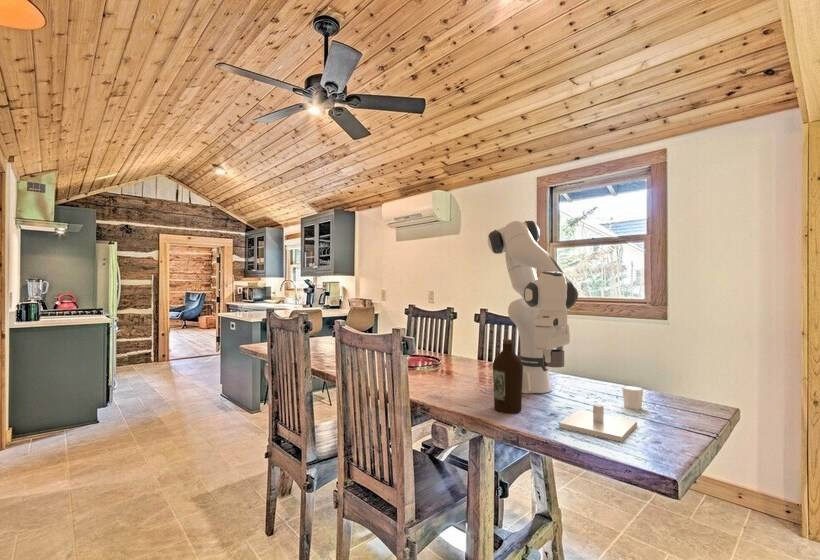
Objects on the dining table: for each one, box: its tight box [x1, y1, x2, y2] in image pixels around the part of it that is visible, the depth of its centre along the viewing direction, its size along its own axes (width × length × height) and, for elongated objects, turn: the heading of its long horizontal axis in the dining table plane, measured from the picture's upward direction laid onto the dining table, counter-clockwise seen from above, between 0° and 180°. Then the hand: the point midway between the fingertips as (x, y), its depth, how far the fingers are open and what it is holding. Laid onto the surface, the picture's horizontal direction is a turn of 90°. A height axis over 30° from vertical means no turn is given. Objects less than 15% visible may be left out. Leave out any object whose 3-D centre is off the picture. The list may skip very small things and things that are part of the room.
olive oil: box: [492, 338, 523, 414], centre depth 147 cm, size 11×11×25 cm
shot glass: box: [621, 385, 644, 410], centre depth 150 cm, size 7×7×7 cm
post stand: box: [558, 404, 638, 443], centre depth 129 cm, size 18×18×6 cm
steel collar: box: [543, 348, 565, 368], centre depth 137 cm, size 7×7×5 cm
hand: (553, 360), depth 137 cm, fingers closed on steel collar, 7 cm apart
